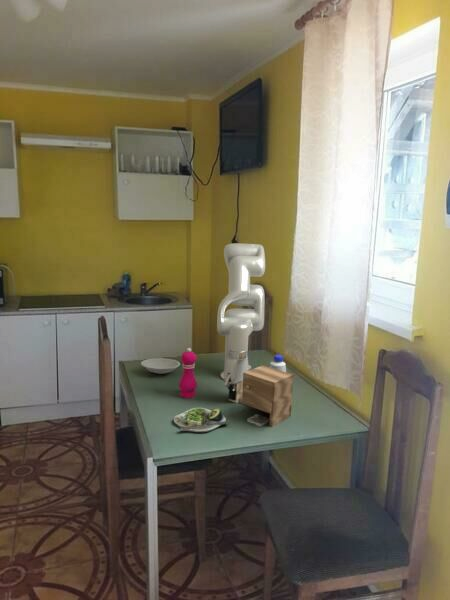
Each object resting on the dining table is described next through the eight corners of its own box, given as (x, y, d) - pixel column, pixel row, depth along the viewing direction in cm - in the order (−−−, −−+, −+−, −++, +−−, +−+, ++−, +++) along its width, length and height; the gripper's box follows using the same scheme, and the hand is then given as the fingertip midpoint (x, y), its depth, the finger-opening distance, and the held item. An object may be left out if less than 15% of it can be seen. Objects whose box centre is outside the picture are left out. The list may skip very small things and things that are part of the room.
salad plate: (197, 442, 165) (197, 429, 164) (160, 425, 177) (161, 413, 176) (234, 424, 180) (235, 412, 179) (199, 409, 191) (199, 398, 190)
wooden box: (260, 405, 196) (262, 365, 193) (290, 416, 187) (293, 374, 184) (239, 415, 186) (241, 373, 183) (269, 427, 177) (272, 383, 174)
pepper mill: (194, 399, 199) (195, 351, 195) (176, 397, 200) (177, 349, 196) (198, 393, 206) (200, 346, 202) (181, 391, 207) (182, 344, 203)
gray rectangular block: (256, 417, 186) (256, 413, 186) (270, 422, 182) (270, 418, 182) (246, 422, 182) (247, 418, 181) (260, 427, 178) (260, 424, 178)
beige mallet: (235, 397, 203) (235, 378, 201) (282, 414, 188) (284, 394, 187) (228, 400, 200) (229, 381, 198) (276, 418, 185) (278, 397, 184)
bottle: (285, 401, 201) (288, 353, 197) (281, 407, 194) (285, 358, 190) (269, 398, 203) (272, 351, 199) (265, 405, 197) (268, 356, 193)
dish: (181, 369, 234) (181, 359, 233) (177, 380, 219) (178, 369, 218) (144, 367, 234) (144, 357, 233) (137, 378, 220) (137, 367, 219)
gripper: (243, 347, 205) (241, 389, 208) (216, 356, 192) (215, 400, 196) (258, 351, 200) (256, 394, 204) (231, 360, 188) (229, 406, 191)
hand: (235, 397), depth 200 cm, fingers closed on beige mallet, 4 cm apart
